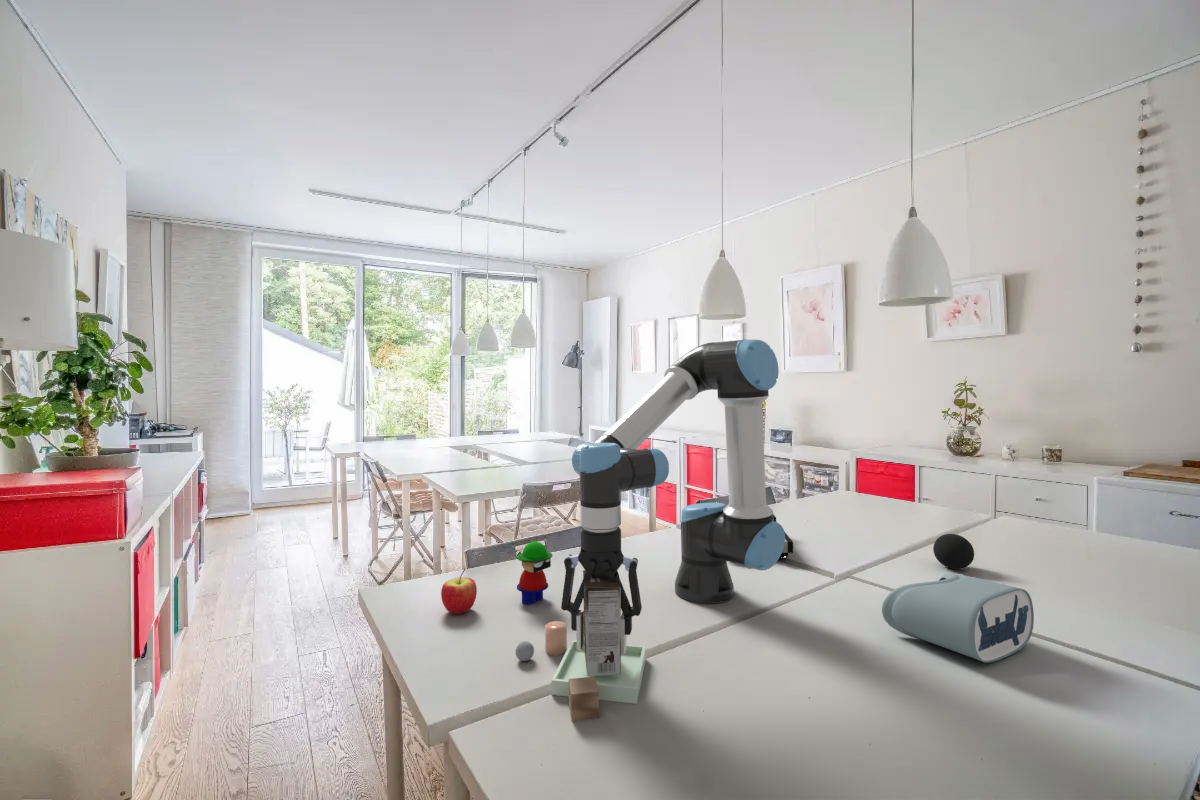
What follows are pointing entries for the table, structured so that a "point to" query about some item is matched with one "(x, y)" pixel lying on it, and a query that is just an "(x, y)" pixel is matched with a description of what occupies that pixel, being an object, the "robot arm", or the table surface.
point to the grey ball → (524, 651)
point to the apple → (459, 594)
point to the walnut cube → (583, 698)
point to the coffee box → (602, 626)
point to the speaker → (953, 551)
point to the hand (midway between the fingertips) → (601, 648)
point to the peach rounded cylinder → (556, 638)
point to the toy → (533, 572)
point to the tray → (608, 685)
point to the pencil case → (963, 615)
